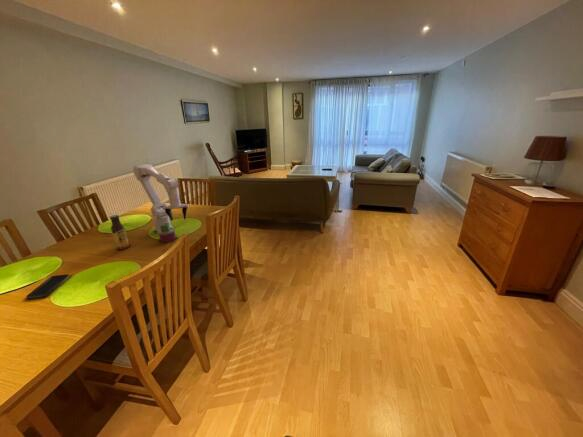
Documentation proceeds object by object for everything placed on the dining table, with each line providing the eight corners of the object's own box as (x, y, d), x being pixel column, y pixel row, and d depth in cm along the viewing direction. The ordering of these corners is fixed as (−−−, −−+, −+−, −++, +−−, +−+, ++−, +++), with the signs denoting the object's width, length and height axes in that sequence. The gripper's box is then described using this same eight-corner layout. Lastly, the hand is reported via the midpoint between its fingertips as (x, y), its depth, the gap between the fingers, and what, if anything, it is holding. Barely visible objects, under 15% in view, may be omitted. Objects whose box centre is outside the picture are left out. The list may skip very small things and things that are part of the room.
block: (161, 232, 145) (160, 226, 143) (163, 229, 148) (162, 223, 147) (168, 231, 146) (167, 225, 144) (170, 228, 149) (169, 222, 148)
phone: (24, 297, 100) (51, 275, 113) (25, 299, 100) (52, 277, 114) (45, 295, 101) (70, 274, 114) (46, 297, 101) (71, 276, 115)
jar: (156, 241, 146) (153, 232, 144) (167, 234, 155) (165, 226, 153) (168, 243, 144) (166, 234, 141) (180, 236, 152) (178, 227, 150)
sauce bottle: (123, 250, 137) (112, 218, 129) (114, 249, 138) (103, 218, 130) (132, 245, 143) (123, 214, 135) (123, 244, 144) (113, 213, 136)
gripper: (159, 202, 141) (164, 223, 146) (185, 199, 144) (189, 220, 149) (162, 198, 147) (167, 218, 153) (187, 196, 150) (191, 216, 155)
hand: (178, 219), depth 151 cm, fingers open, 7 cm apart
